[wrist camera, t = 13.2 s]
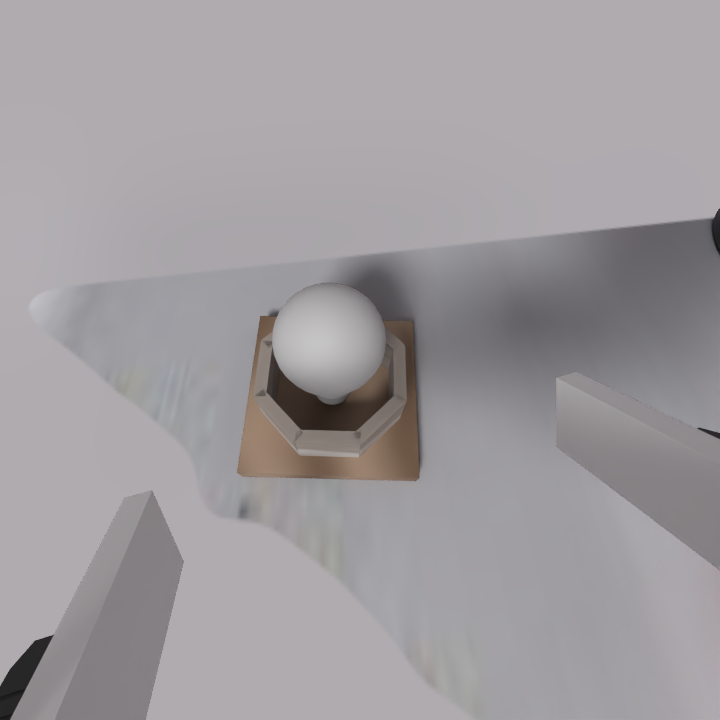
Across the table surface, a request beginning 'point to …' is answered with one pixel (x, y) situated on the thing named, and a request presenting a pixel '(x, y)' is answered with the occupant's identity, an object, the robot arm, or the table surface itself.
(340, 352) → the lightbulb
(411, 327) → the bulb socket
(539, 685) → the table surface
